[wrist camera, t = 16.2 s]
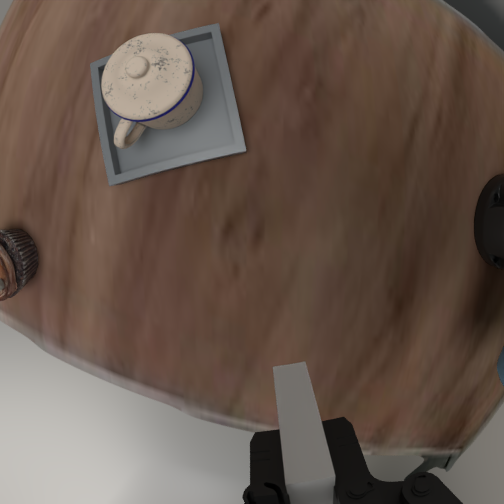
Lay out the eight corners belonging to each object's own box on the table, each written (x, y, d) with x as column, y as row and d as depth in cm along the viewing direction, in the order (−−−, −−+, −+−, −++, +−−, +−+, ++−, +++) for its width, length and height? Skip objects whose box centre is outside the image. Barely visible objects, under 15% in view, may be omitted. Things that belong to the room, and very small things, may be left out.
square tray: (220, 33, 31) (218, 23, 28) (246, 152, 35) (246, 150, 32) (99, 69, 31) (90, 63, 29) (119, 184, 36) (109, 186, 33)
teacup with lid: (156, 50, 30) (124, 9, 19) (220, 78, 32) (210, 40, 20) (107, 135, 33) (55, 125, 22) (168, 167, 34) (134, 166, 23)
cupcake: (53, 265, 38) (12, 289, 28) (21, 295, 39) (-16, 321, 29) (21, 210, 36) (-24, 223, 26) (-8, 245, 37) (-48, 263, 27)
